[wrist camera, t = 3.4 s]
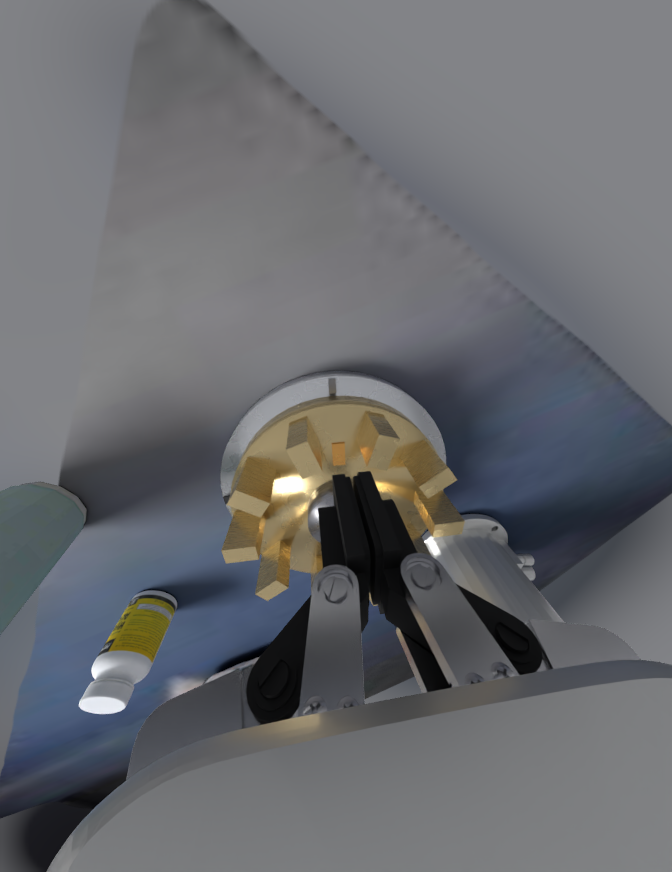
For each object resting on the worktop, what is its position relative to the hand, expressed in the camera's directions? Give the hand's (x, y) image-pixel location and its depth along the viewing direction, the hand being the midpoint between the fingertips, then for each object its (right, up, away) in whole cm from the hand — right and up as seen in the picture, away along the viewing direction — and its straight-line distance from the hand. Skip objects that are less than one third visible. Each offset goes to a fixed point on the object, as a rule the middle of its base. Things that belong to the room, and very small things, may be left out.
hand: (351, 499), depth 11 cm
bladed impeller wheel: (0, -2, +14) cm, 14 cm away
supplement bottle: (-24, -19, +22) cm, 38 cm away
